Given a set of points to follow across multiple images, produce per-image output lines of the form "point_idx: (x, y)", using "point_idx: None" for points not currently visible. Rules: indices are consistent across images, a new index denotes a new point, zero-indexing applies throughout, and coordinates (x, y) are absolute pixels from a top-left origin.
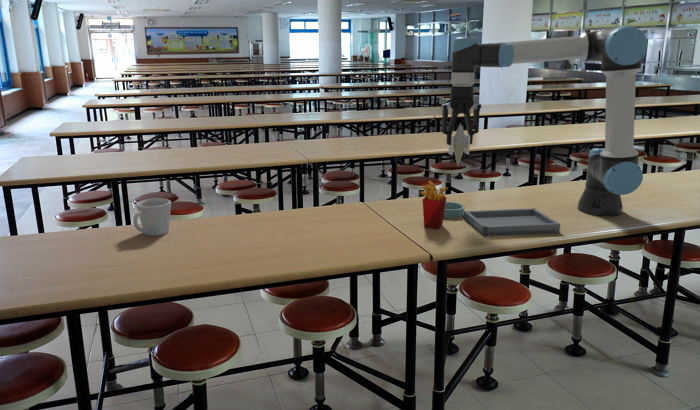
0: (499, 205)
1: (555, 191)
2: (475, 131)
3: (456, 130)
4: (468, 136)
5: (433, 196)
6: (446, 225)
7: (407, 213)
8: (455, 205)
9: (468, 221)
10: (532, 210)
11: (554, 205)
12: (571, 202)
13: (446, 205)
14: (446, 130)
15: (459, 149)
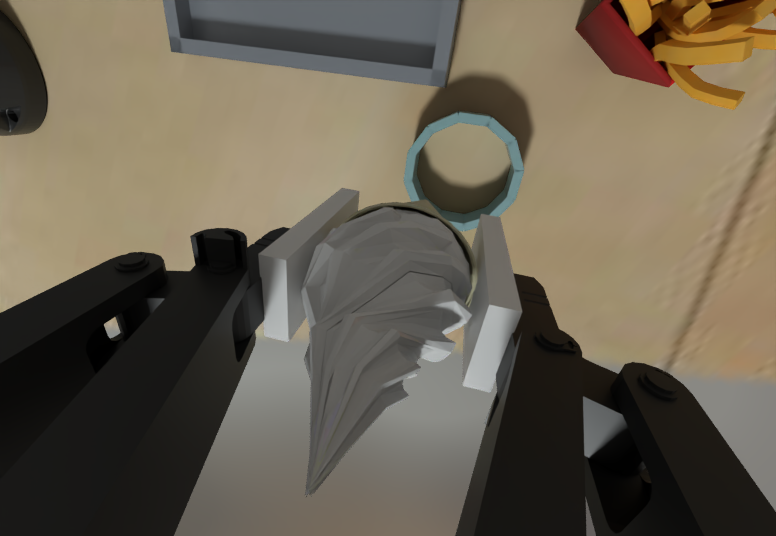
0: (260, 205)
1: (83, 271)
2: (152, 269)
3: (405, 397)
4: (287, 252)
5: (677, 27)
6: (559, 21)
7: (604, 219)
8: (421, 198)
9: (457, 22)
10: (183, 38)
11: (106, 155)
12: (57, 168)
13: (446, 216)
14: (648, 407)
15: (427, 208)
